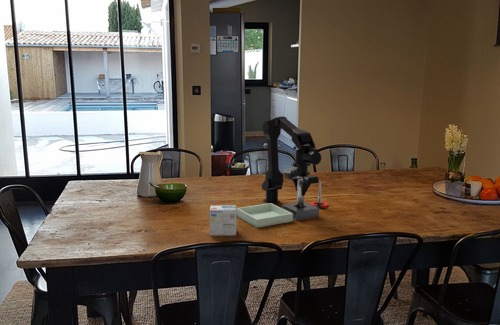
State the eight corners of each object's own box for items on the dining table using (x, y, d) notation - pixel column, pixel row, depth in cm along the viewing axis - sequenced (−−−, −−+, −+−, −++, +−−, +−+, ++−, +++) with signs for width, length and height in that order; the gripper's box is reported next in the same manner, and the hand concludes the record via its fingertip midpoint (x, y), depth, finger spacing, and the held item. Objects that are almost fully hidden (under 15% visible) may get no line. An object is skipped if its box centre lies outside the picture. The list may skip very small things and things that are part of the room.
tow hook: (310, 203, 244) (310, 207, 235) (311, 177, 242) (311, 181, 233) (328, 204, 242) (328, 208, 233) (329, 178, 240) (329, 181, 231)
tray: (236, 215, 221) (236, 208, 220) (270, 210, 230) (270, 203, 229) (256, 227, 206) (256, 219, 205) (292, 221, 214) (292, 213, 214)
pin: (295, 205, 223) (296, 179, 221) (301, 204, 225) (301, 178, 222) (299, 207, 220) (300, 181, 218) (305, 206, 222) (306, 180, 219)
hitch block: (281, 213, 226) (281, 204, 225) (302, 209, 231) (303, 201, 231) (296, 220, 215) (296, 211, 215) (318, 216, 221) (319, 208, 220)
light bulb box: (236, 230, 203) (236, 204, 200) (236, 235, 196) (236, 209, 194) (210, 230, 202) (210, 204, 200) (209, 235, 196) (209, 209, 193)
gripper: (274, 158, 222) (274, 192, 225) (299, 166, 206) (297, 202, 210) (295, 156, 228) (294, 189, 231) (320, 164, 212) (319, 199, 215)
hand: (300, 195), depth 221 cm, fingers closed on pin, 3 cm apart
